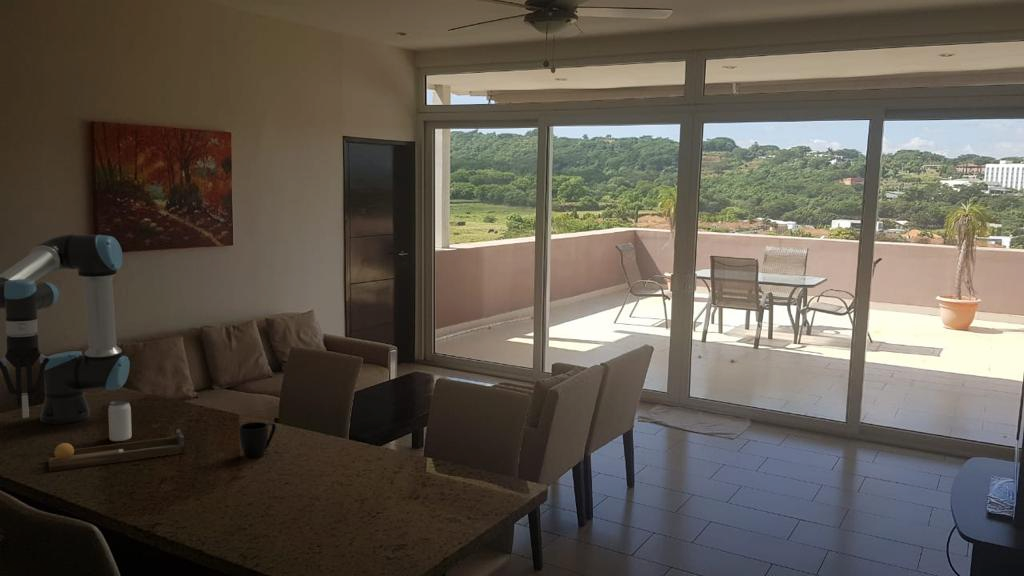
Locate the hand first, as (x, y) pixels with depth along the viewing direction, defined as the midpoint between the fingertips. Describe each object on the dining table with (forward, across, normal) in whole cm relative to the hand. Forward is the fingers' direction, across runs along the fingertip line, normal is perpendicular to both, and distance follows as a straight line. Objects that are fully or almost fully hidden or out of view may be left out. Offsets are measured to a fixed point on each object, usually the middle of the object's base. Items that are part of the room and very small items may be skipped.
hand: (25, 416), depth 223 cm
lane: (+15, +23, 0) cm, 28 cm away
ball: (+12, +9, 0) cm, 15 cm away
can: (+16, +25, +19) cm, 35 cm away
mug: (+16, +61, -16) cm, 65 cm away
